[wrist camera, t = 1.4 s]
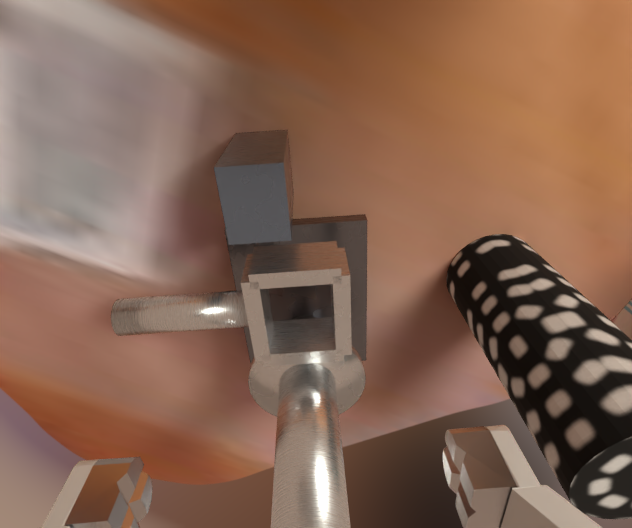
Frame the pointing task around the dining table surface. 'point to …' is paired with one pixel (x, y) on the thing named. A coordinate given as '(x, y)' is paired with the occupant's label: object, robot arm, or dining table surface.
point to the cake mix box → (625, 320)
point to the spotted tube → (554, 367)
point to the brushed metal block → (256, 187)
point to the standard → (289, 350)
